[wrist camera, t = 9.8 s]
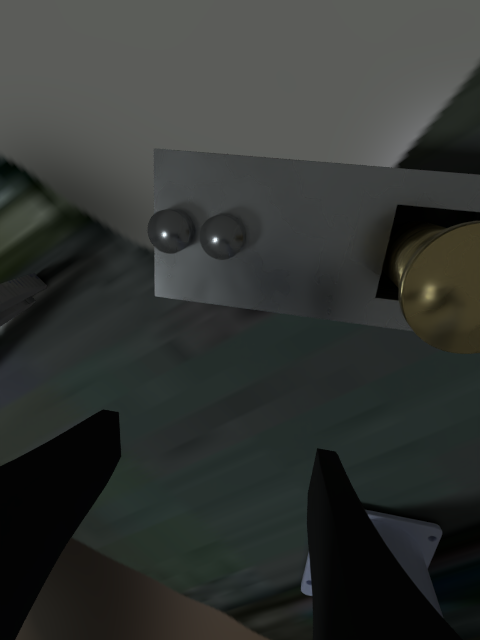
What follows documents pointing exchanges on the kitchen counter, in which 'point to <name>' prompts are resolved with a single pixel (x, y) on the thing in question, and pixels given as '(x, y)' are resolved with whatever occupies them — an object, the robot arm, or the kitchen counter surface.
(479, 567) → the kitchen counter surface
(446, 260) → the pin
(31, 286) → the caliper
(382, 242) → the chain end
